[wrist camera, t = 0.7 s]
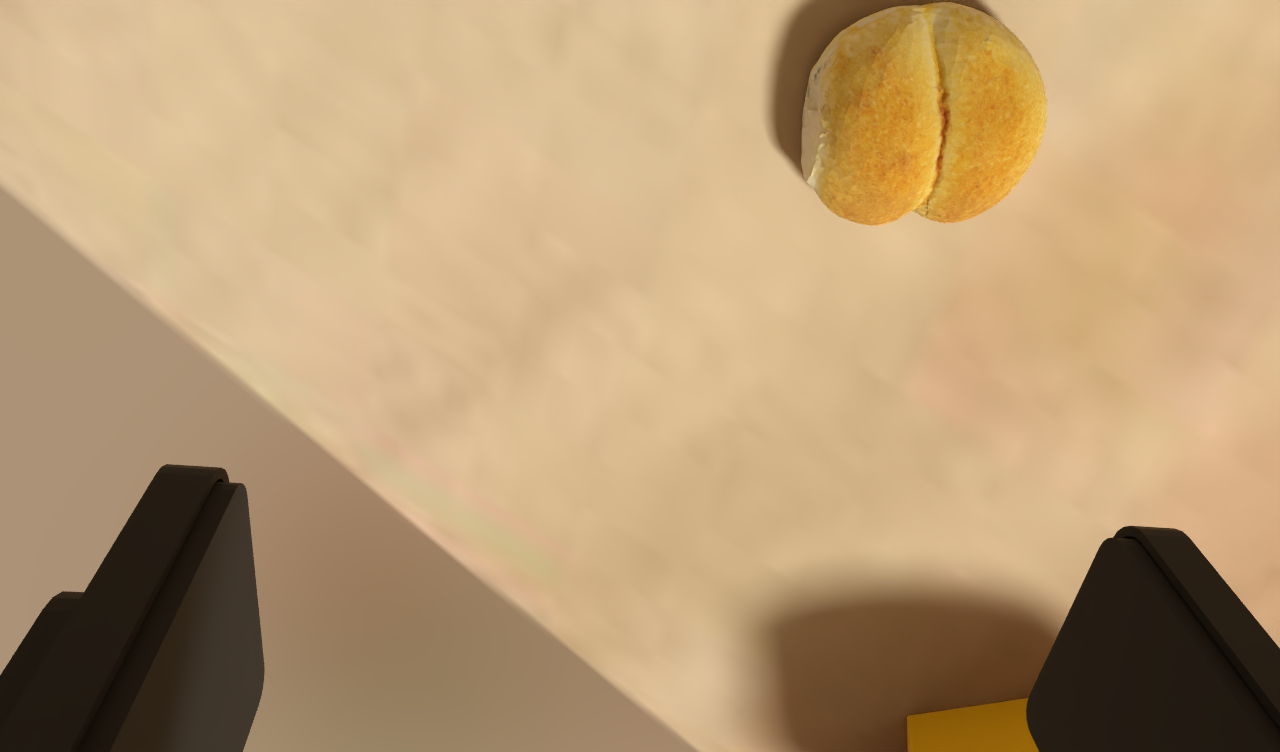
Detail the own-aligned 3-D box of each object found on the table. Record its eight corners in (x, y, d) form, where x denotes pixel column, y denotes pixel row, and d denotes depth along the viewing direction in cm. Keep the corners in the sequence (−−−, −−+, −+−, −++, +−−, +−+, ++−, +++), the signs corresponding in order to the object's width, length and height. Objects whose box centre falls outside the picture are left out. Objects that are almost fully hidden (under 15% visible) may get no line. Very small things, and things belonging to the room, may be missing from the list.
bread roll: (1006, 207, 40) (1046, 247, 37) (790, 211, 40) (811, 252, 36) (1051, -5, 36) (1101, 17, 33) (809, -3, 36) (834, 20, 32)
